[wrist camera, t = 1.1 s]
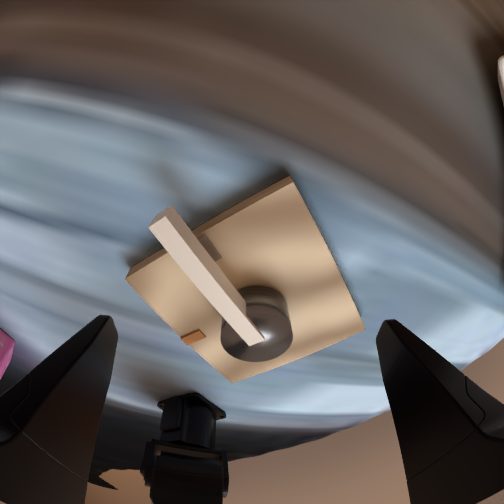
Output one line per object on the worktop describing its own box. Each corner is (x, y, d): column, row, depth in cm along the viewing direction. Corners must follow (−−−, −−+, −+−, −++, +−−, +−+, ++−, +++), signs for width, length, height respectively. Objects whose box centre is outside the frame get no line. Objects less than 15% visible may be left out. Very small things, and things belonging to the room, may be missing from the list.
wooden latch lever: (298, 318, 23) (304, 349, 20) (244, 341, 24) (244, 372, 21) (203, 178, 17) (195, 197, 14) (141, 219, 18) (124, 244, 15)
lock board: (360, 317, 26) (366, 330, 24) (232, 371, 29) (231, 384, 27) (289, 175, 19) (294, 182, 17) (130, 268, 22) (124, 280, 21)
